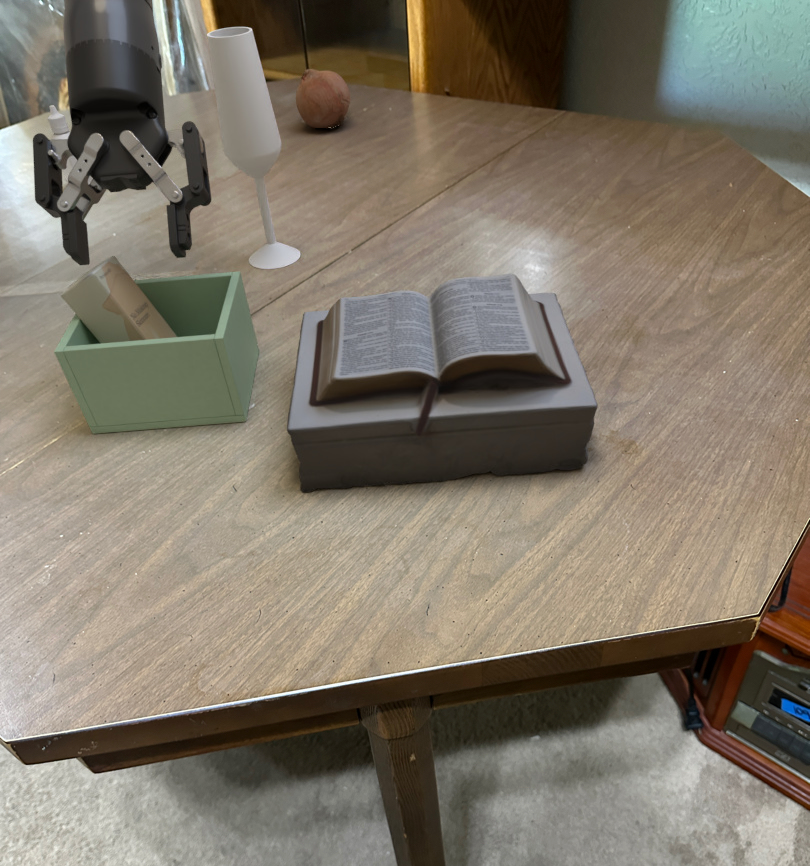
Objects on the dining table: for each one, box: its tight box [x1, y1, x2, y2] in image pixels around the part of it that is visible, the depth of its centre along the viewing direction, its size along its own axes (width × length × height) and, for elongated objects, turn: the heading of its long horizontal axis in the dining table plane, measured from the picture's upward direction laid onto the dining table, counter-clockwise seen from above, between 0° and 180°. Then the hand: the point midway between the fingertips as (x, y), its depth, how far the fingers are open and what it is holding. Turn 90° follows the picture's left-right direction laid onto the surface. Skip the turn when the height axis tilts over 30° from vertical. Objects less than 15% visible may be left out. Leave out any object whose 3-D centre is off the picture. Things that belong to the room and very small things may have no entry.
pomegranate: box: [295, 68, 351, 129], centre depth 125 cm, size 10×9×10 cm
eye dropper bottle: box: [46, 104, 93, 185], centre depth 109 cm, size 4×6×12 cm
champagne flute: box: [206, 26, 301, 270], centre depth 83 cm, size 7×7×24 cm
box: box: [60, 255, 177, 343], centre depth 68 cm, size 5×4×11 cm
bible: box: [286, 273, 599, 493], centre depth 63 cm, size 23×27×10 cm
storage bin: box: [53, 270, 260, 435], centre depth 69 cm, size 15×13×9 cm
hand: (129, 258), depth 61 cm, fingers open, 8 cm apart
